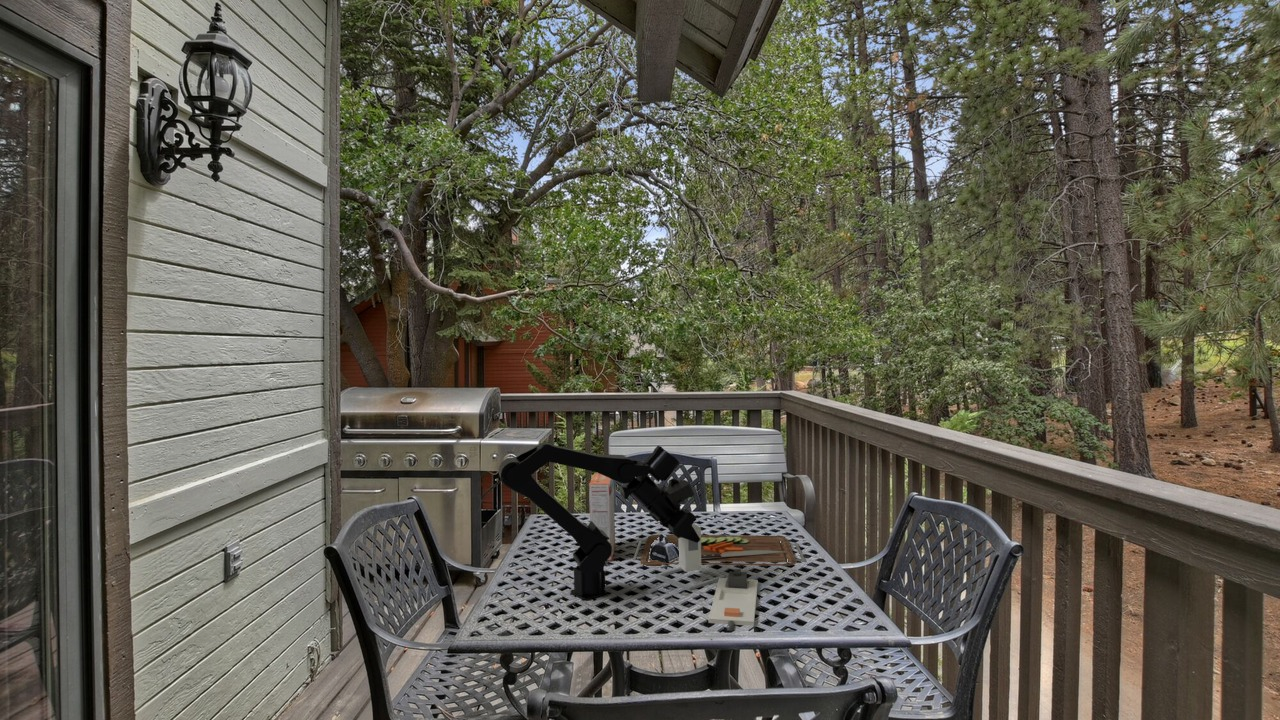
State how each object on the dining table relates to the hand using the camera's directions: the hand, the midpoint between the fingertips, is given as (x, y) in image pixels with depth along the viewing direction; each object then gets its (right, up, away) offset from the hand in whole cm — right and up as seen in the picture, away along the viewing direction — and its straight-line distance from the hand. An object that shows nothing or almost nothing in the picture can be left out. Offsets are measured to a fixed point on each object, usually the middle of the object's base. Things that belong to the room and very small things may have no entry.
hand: (694, 538), depth 162 cm
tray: (-1, -10, 0) cm, 10 cm away
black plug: (+9, -9, -7) cm, 15 cm away
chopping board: (+8, -10, +22) cm, 26 cm away
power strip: (+7, -10, -17) cm, 21 cm away
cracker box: (-23, -10, +22) cm, 34 cm away
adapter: (-1, -7, 0) cm, 7 cm away
